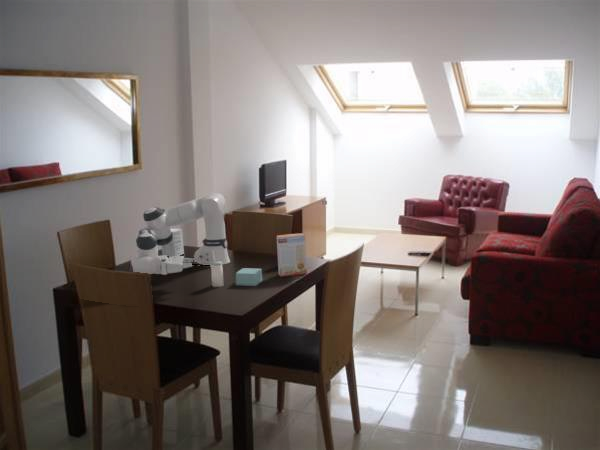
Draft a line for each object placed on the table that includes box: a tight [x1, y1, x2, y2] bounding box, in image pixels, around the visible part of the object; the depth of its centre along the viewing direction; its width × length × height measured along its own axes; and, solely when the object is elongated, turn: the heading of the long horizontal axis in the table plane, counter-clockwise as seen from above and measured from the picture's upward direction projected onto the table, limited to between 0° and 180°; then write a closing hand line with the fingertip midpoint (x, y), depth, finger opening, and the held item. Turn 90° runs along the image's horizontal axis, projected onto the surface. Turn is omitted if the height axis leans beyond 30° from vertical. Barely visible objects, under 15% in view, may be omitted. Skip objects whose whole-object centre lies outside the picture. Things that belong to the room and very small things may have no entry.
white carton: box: [161, 228, 185, 257], centre depth 390 cm, size 10×9×17 cm
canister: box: [210, 261, 224, 288], centre depth 326 cm, size 6×6×12 cm
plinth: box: [235, 267, 264, 287], centre depth 330 cm, size 11×11×6 cm
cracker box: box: [276, 232, 308, 278], centre depth 341 cm, size 14×6×21 cm, turn 102°
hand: (192, 262), depth 323 cm, fingers open, 8 cm apart
